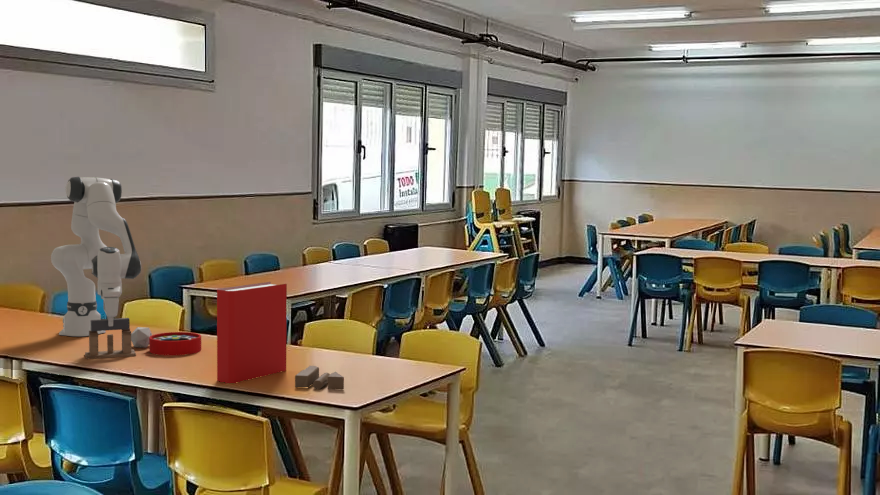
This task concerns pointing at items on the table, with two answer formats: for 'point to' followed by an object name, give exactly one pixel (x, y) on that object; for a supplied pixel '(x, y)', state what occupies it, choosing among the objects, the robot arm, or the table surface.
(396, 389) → the table surface
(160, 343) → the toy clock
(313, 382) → the wooden block set
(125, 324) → the frame bar
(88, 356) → the stand
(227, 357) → the book
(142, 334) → the die
